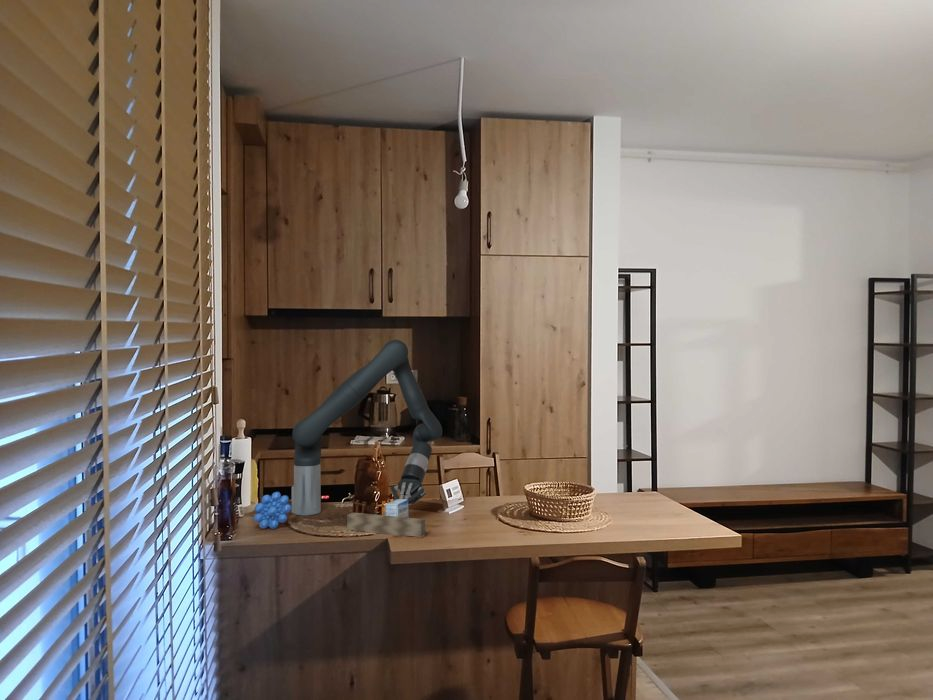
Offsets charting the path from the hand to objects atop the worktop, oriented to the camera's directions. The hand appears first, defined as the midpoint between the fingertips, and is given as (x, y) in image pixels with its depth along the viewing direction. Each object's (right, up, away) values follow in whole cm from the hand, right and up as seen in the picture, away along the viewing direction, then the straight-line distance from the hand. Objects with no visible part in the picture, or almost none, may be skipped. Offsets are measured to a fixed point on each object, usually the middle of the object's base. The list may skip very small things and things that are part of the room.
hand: (400, 513), depth 216 cm
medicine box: (0, -4, -5) cm, 6 cm away
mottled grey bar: (-4, -4, -10) cm, 11 cm away
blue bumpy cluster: (-41, -4, -4) cm, 41 cm away
